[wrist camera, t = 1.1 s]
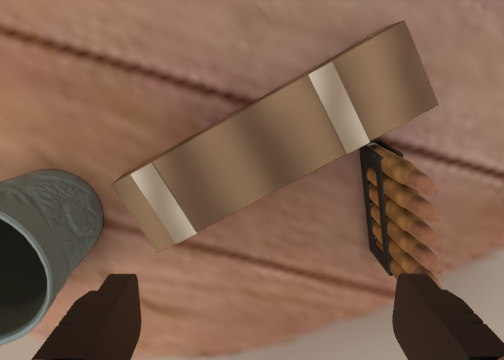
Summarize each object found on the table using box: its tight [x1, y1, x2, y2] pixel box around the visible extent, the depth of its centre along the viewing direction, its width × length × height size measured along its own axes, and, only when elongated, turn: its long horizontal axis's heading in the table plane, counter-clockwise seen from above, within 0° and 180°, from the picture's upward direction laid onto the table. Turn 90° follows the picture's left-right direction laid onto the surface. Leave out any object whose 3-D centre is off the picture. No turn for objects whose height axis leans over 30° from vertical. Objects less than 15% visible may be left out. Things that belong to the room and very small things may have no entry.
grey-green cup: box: [0, 169, 103, 346], centre depth 29 cm, size 10×10×12 cm
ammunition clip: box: [360, 140, 442, 288], centre depth 29 cm, size 11×2×12 cm, turn 10°
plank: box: [111, 20, 439, 253], centre depth 31 cm, size 26×7×3 cm, turn 119°
